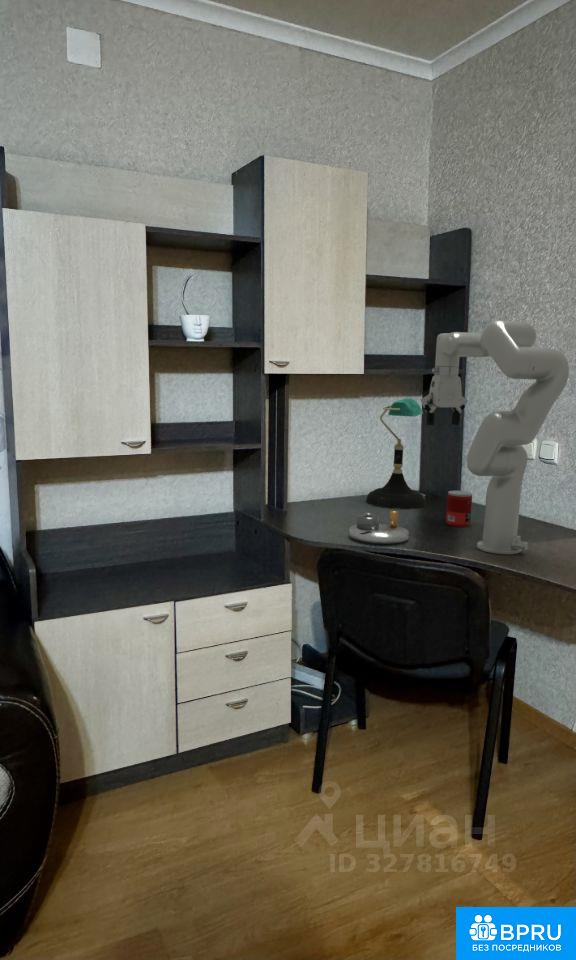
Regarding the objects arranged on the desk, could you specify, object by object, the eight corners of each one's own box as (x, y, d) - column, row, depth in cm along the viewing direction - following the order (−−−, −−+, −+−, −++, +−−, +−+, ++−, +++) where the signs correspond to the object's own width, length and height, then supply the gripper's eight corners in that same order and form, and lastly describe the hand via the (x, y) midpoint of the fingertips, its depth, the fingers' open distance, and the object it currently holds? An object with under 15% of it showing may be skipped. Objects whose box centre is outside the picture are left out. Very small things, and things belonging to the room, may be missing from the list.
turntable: (420, 537, 213) (421, 515, 211) (382, 546, 200) (383, 523, 199) (374, 526, 226) (375, 505, 224) (337, 534, 213) (337, 512, 212)
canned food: (470, 527, 231) (473, 495, 229) (446, 526, 232) (448, 493, 230) (469, 522, 238) (471, 491, 236) (445, 521, 240) (447, 489, 238)
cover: (383, 527, 216) (384, 513, 215) (368, 531, 211) (369, 516, 210) (366, 523, 221) (367, 509, 220) (351, 526, 216) (352, 512, 215)
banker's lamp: (421, 512, 253) (427, 402, 247) (359, 506, 260) (364, 399, 254) (430, 499, 278) (436, 399, 271) (373, 494, 285) (378, 396, 279)
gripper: (430, 372, 219) (426, 426, 222) (475, 373, 225) (471, 425, 228) (417, 371, 226) (413, 423, 229) (461, 372, 232) (458, 423, 235)
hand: (442, 424), depth 228 cm, fingers open, 9 cm apart
